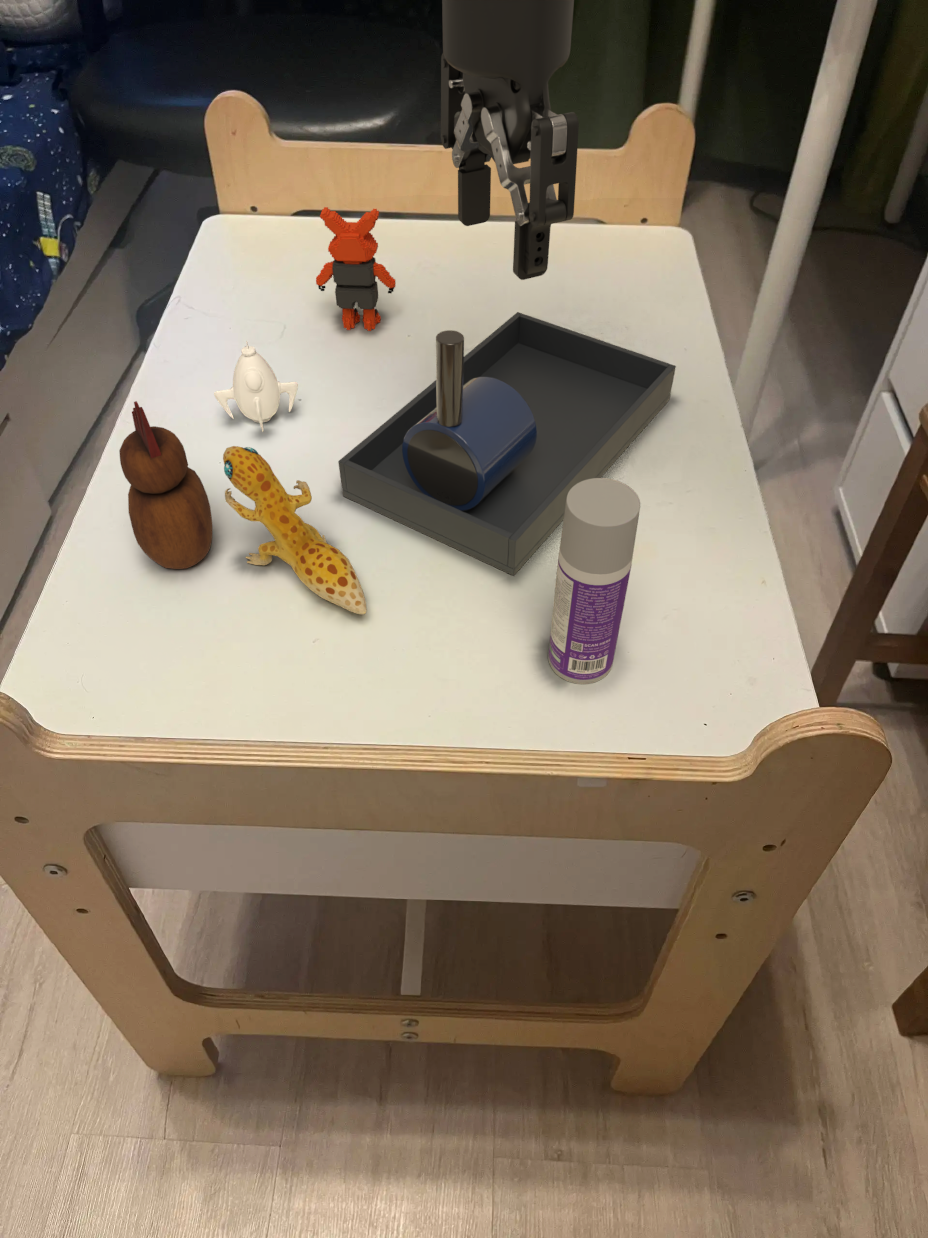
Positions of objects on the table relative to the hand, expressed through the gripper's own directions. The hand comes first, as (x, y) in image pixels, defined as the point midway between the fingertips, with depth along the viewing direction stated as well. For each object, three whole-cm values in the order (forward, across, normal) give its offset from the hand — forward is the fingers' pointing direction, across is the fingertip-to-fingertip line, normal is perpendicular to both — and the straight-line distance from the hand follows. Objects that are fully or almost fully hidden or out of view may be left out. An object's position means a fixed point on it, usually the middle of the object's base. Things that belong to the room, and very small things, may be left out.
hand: (500, 247), depth 63 cm
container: (+22, -20, +3) cm, 29 cm away
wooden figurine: (+22, +4, +26) cm, 34 cm away
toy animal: (+22, +31, 0) cm, 37 cm away
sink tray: (+21, +4, -4) cm, 22 cm away
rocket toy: (+22, +18, +15) cm, 32 cm away
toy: (+22, -4, +17) cm, 28 cm away
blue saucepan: (+13, +3, -2) cm, 13 cm away
